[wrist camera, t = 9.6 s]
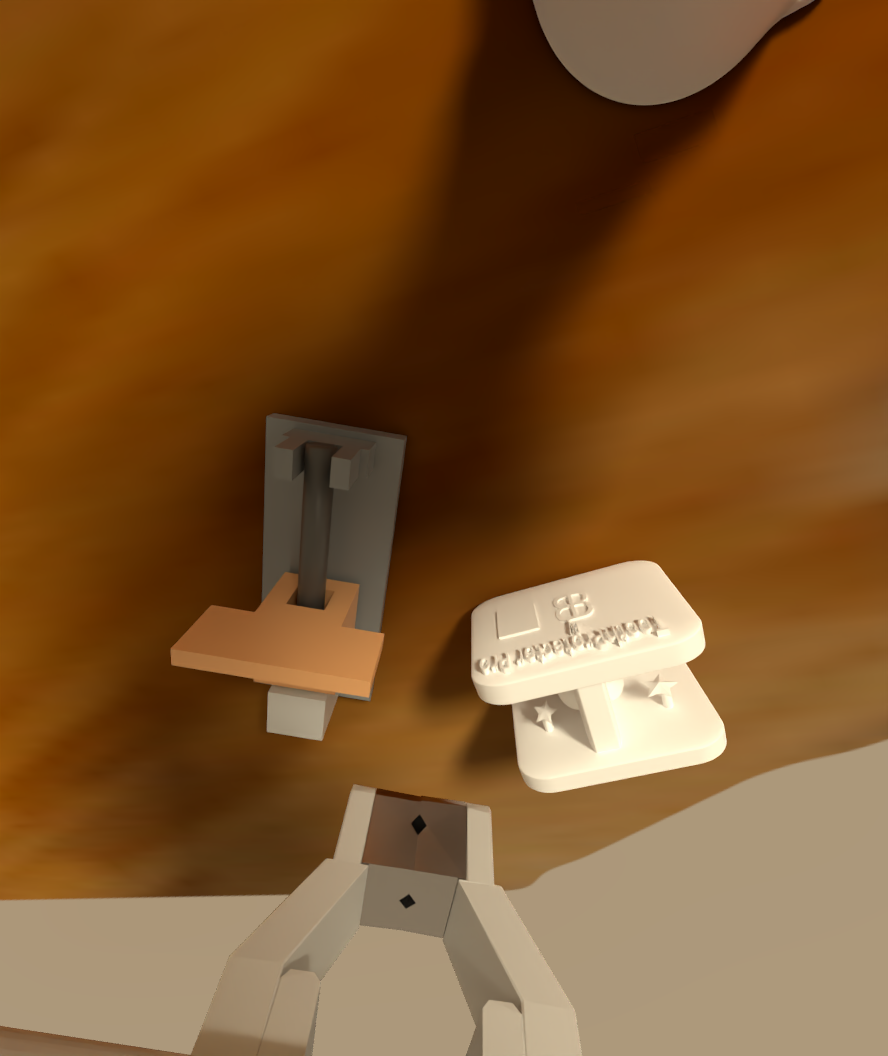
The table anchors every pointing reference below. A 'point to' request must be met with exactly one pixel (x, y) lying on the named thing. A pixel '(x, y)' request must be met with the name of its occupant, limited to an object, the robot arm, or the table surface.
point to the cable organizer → (597, 677)
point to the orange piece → (287, 642)
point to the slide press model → (327, 534)
